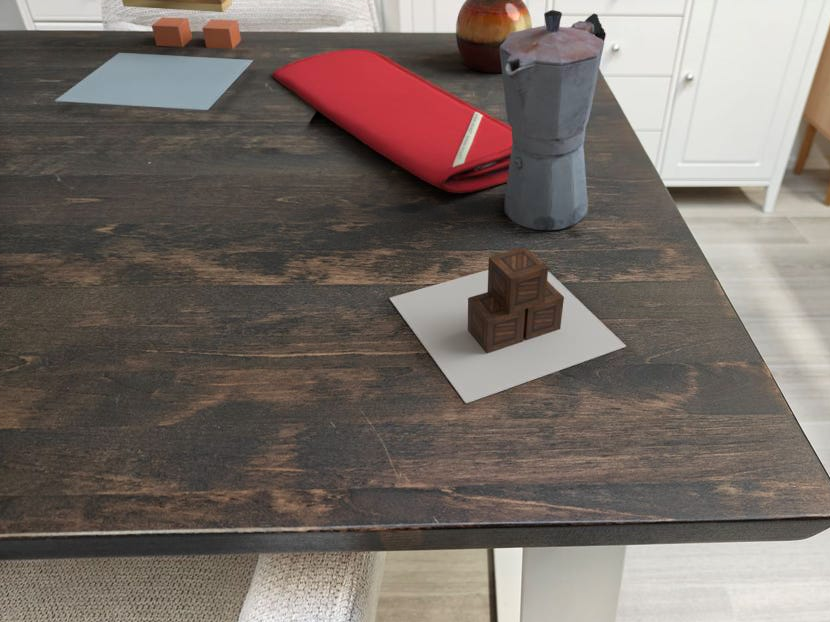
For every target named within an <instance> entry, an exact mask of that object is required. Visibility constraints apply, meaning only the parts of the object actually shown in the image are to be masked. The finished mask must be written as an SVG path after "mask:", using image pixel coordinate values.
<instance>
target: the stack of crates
mask: <svg viewBox="0 0 830 622" xmlns="http://www.w3.org/2000/svg"><path fill="white" fill-rule="evenodd" d="M487 265H488V266H487V267H488V269H486V270H482V271H478V272H475V273H471V274H468V275H464V276H461V277H458V278H454V279H451V280H447V281H444V282H441V283H436V284H433V285H430V286H426V287H423V288H418V289H415V290H412V291H409V292H405V293H402V294H398V295H394V296H390V297H388V299H389V300H390V302H391V303H392V305H393V306H394V307H395V308H396V310H397V311H398V313H399V314H400V315H401V316H402V318H403V320H404V321H405V322H406V323H407V325H408V326H409V328H410V329H411V331H412V332H413V333H414V334H415V336H416V337H417V338H418V340H419V341H420V343H421V344H422V345H423V347H424V348H425V349H426V351H427V352H428V353H429V355H430V356H431V358H432V359H433V361H434V362H435V363H436V365H437V366H438V368H439V369H440V370H441V372H442V373H443V374H444V375H445V377H446V378H447V380H448V381H449V382H450V384H451V385H452V386H453V388H454V389H455V390H456V392H457V393H458V395H459V396H460V398H461V399H462V400H463V402H464V404H469V403H472V402H475V401H477V400H480V399H483V398H487V397H489V396H492V395H494V394H497V393H500V392H502V391H506V390H509V389H511V388H514V387H516V386H517V387H518V386H520V385H523V384H525V383H528V382H531V381H534V380H536V379H539V378H542V377H545V376H548V375H551V374H554V373H556V372H559V371H562V370H565V369H568V368H570V367H573V366H576V365H578V364H581V363H584V362H587V361H590V360H593V359H595V358H598V357H601V356H605V355H606V354H610V353H612V352H613V353H614V352H615V351H619V350H621V349H623V348H627V345H626V344H625V343H624V342H623V341H622V340H621V339H620V338H619V337H618V336H617V335H616V334H615V333H614V332H613V331H612V330H610V329H609V327H607V326H606V325H605V324H604V323H603V322H602V321H601V320H600V319H599V318H598V317H597V316H596V315H595V314H594V313H593V312H592V311H590V309H589V308H587V307H586V306H585V304H583V303H582V301H580V300H579V299H578V297H576V296H575V295H574V294H573V293H572V292H571V291H570V290H569V289H568V288H567V287H566V286H565V285H564V284H562V283H561V282H560V281H559V280H558V278H556V277H555V276H554V275H553V274H552V273H551V272H550V271H549V266H548V265H546V263H544V261H542V260H541V259H540V258H539V257H538V256H537V255H535V254H534V253H533V252H532V251H531V250H530V249H529V248H528V247H526V246H521V247H518V248H515V249H512V250H508V251H504V252H502V253H499V254H495V255H492V256H488V264H487Z"/></svg>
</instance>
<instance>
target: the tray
mask: <svg viewBox="0 0 830 622" xmlns="http://www.w3.org/2000/svg"><path fill="white" fill-rule="evenodd" d="M253 61H254V59H243V58H242V59H239V58H238V59H237V58H223V57H222V58H220V57H204V56H203V57H202V56H187V55H185V56H184V55H167V54H150V53H149V54H148V53H132V52H118V53H117V54H116V55H114V56H112V58H110V59H108V60H107V61H106V62H104V63H103V64H102V65H100V66H99V67H98V68H96V69H95V70H94V71H92V72H91V73H90V74H88V75H87V76H86V77H85V78H83V79H82V80H80V81H79V82H77V83H76V84H75V85H73V86H72V87H71V88H69V90H66V92H64V93H63V94H61V95H60V96H59V97H57V98H56V99H55V100H54V102H62V103H63V102H65V103H80V104H96V105H97V104H98V105H113V106H129V107H130V106H131V107H146V108H147V107H149V108H163V109H164V108H165V109H181V110H199V111H208V110H209V109H210V108H211V107H212V106H213V105H214V103H215V102H216V101H217V100H218V99H219V98H220V97H221V96H222V95H223V94H224V93H225V92H226V91H227V90H228V88H230V86H231V85H233V83H234V82H235V81H236V80H237V79H238V78H239V77H240V76H241V74H242V73H243V72H244V71H245V70H246V69H247V68H248V67H249V66H250V65H251V64H252V63H253Z"/></svg>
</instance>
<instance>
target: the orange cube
mask: <svg viewBox="0 0 830 622" xmlns="http://www.w3.org/2000/svg"><path fill="white" fill-rule="evenodd" d="M189 21H190V20H189V18H186V17H185V18H184V17H161V18H159V19H158V20H157V21H155V22H154V23H153V24H152V25H151V28H152V32H153V36H154V41H155V44H156V46H157V47H179V48H184V47H185V46H186V45H187V44H188V43H190V41H191V40H193V35H192V30H191V26H190V22H189Z"/></svg>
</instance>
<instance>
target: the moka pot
mask: <svg viewBox="0 0 830 622" xmlns="http://www.w3.org/2000/svg"><path fill="white" fill-rule="evenodd" d="M543 16H544V22H545V25H541V26H536V27H532V28H531V29H526V30H522V31H517V32H512V33H510V34H509V36H508V37H507V38H506V40H505V41H504V42H503V43H502V45H501V46H500V59H501V67H502V72H501V76H502V84H503V91H504V100H505V110H506V119H507V124H508V125H509V126H510V127H512V141H513V142H512V149H511V156H510V164H509V172H508V178H507V182H506V187H505V193H504V214H505V215H506V216H507V218H509V219H510V220H511V221H512V222H513V223H515V224H517V225H519V226H521V227H524V228H526V229H531V230H536V231H557V230H562V229H567V228H569V227H572V226H575V225H577V224H578V223H579V222H580V221H582V219H583V218H585V217H586V215H587V214H588V212H589V202H588V189H587V176H586V174H587V173H586V162H585V149H584V142H585V138H586V127H587V124H588V122H589V119H590V117H591V116H590V115H591V111H592V106H593V101H594V97H595V90H596V86H597V81H598V76H599V71H600V67H601V61H602V55H603V50H604V47H605V40H606V36H607V33H606V31H605V29H604V28H603V25H602V23H601V22H600V18H599V15H598V14H597V13H592V14H591V15H589V16H588V17H587V18H586V19H585V20H584V21H582V20H578V21H576V22H574V23H572V25H571V26H560V25H561V20H562V16H563V13H562V12H561V11H559V10H556V9H555V10H554V9H552V10H551V9H550V10H547V11H546V12H544V13H543Z"/></svg>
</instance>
